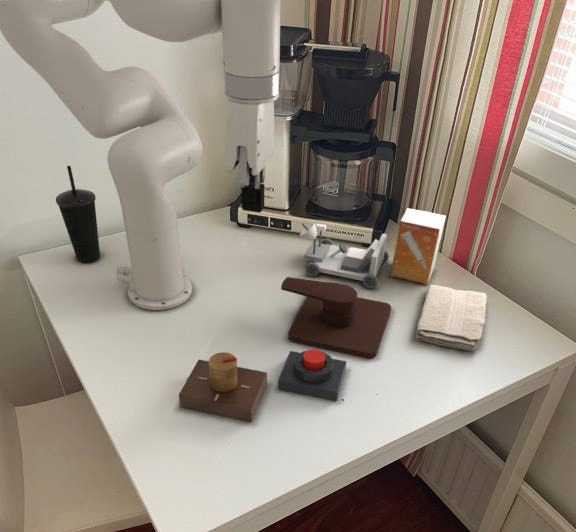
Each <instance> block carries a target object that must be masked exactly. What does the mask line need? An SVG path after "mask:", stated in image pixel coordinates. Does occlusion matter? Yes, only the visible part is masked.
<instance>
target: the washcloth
mask: <svg viewBox="0 0 576 532" xmlns="http://www.w3.org/2000/svg"><path fill="white" fill-rule="evenodd" d="M487 300H488V295H487V293H485V292H480V291H474V290H463V289H461V290H459V289H454V288H453V287H448V286H442V285H437V284H430V285H429V284H428V286H427V290H426V293H425V297H424V302H423V304H422V309H421V312H420V316H419V319H418V322H417V325H416V334H415V340H417V341H421V342H427V343H429V344H430V343H431V344H434V345H439V346H443V347H450V348H454V349H460V350H464V351H473V352H474V351H476V350H477V348H478V347H479V344H480V340H481V339H482V336H483V331H484V326H485V324H486V322H485V321H486V311H487Z"/></svg>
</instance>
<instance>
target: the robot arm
mask: <svg viewBox="0 0 576 532" xmlns="http://www.w3.org/2000/svg"><path fill="white" fill-rule="evenodd" d="M105 2H108V3H110V5H111V6H112V8H113V9H114V11H115V13H116V15H117V16H118V17H119V18H120V20H121V21H122V22H123V23H124V24H125V25H126V26H128V27H129V28H131V29H133V30H135V31H137V32H139V33H142V34H144V35H147V36H150V37H152V38H155V39H158V40H160V41H164V42H168V43H183V42H184V43H185V42H188V41H192V40H194V39H198V38H201V37H204V36H208V35H213V34H217V33H221V34H222V61H223V85H224V87H223V88H224V97H225V98H226V99H227V106H226V113H225V140H224V141H225V142H224V145H225V148H224V149H225V151H224V152H225V155H224V156H225V158H224V159H225V161H224V162H225V164H224V165H225V170H226V172H227V173H232V172H233V171H235V169H236V168H237V166H238V173H237V175H238V176H237V185H238V186H240V188H241V189H240V190H241V191H240V192H241V210H243V211H246V212H253V213H258V214H259V213H260V214H261V213H262V211H263V210H264V208H265V184H264V183H265V179H266V165H267V163H268V162H269V160H270V159H271V158H272V156H273V153H274V150H275V149H274V148H275V103H274V101H277V100H278V99H279V98H280V67H281V65H280V64H281V63H280V61H281V60H280V59H281V58H280V57H281V9H282V8H281V6H282V4H281V3H282V0H0V33H1V34H2V36H3V38H4V40H5V41H6V42H7V44H9V46H10V48H12V50H13V51H14V52H15V53H16V54H17V55H18V56H19V57H20V58H21V59H22V60H23V61H25V63H26V64H27V65H28V66H29V67H31V68H32V69H33V70H34V71H35V72H36V73H37V74H38V75H39V76H40V77H41V78H42V79H43V80H44V81H45V82H46V83H47V85H48V86H49V87H50V89H52V91H53V92H54V93H55V95H56V96H57V97H58V98H59V100H61V102H62V103H63V104H64V106H65V107H66V108H67V109H68V110H69V112H70V113H71V114H72V115H73V117H74V118H76V120H77V121H78V123H79V124H80V125H81V126H82V127H83V128H84V129H85V130H86V132H88V133H89V134H90V135H91V136H93V137H94V138H97V139H100V140H101V139H102V140H103V139H104V140H105V139H109V138H114V137H116V136H119V135H121V136H119V137H118V138H117V139H115V140H114V142H112V144H111V145H110V147H109V149H108V151H107V157H106V158H107V165H108V170H109V172H110V175H111V177H112V181H113V184H114V186H115V189H116V193H117V195H118V199H119V203H120V208H121V213H122V218H123V224H124V228H125V235H126V242H127V247H128V253H129V259H130V260H129V261H130V264H131V266H130V267H129V266H126V265H121V264H117V266H116V269H115V273H116V274H117V275H116V281H118V282H123V283H127V284H129V285H128V287H127V296H128V299H129V301H130V302H131V304H134V305H135V306H137V307H138V308H141V309H144V310H150V311H165V310H170V309H175V308H176V307H178V306H182V305H183V304H185V303H186V302H187V301H188V300H189V299H190V298H191V296H192V294H193V286H192V282H191V280H190V279H189V278H188V277H186V276H185V275H184V272H183V263H182V253H181V243H180V233H179V225H178V222H179V221H178V216H177V209H176V205H175V203H174V200H173V199H172V198H171V197H170V196H169V194H168V193H167V191H166V190H165V185H166V184H167V183H169V182H171V181H172V180H173V179H176V178H178V177H179V176H181V175H184V174H186V173H188V172H190V171H191V170H193V169H194V168H195V167H197V166H198V165H199V163H200V162H201V160H202V156H203V144H202V140H201V137H200V134H199V132H198V131H197V130H196V127H195V126H194V124H193V123H192V122H191V121H190V119H189V118H188V117H187V115H186V114H185V113H184V111H183V110H182V109H181V108H180V107H179V105H178V104H177V103H176V102H175V100H174V99H173V97H172V96H171V95H170V94H169V93H168V91H167V90H166V89H165V88H164V86H163V85H162V83H161V82H159V80H158V79H157V78H156V77H155V76H154V75H153V74H152V73H150V72H149V71H148V70H146V69H144V68H141V67H140V66H139V67H138V66H125V67H120V68H118V69H117V68H116V69H114V70H111V71H110V70H106V69H103V68H102V67H101V66H100V65H99V64H98V63H97V62H96V61H95V60H94V59H93V57H92V56H91V54H90V52H89V51H87V50H86V48H85V47H84V46H83V45H81V44H80V43H79V42H77V41H76V40H75V39H73V38H71V37H70V36H68V35H67V34H65V33H63V32H61V31H59V30H57V29H56V28H54V27H53V25H56V24H62V23H66V22H70V21H71V22H72V21H75V20H79V19H84V18H87V17H89V16H92V15H93V14H94V13H96V12H97V11H98V10H99V9H100V8H101V6H103V4H104V3H105ZM122 134H123V135H122Z"/></svg>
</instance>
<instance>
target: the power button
mask: <svg viewBox="0 0 576 532" xmlns="http://www.w3.org/2000/svg"><path fill="white" fill-rule="evenodd" d="M305 351H306V352H305V353H304V355H303V366H304V367H305V368H306V369H308V370H312V371H317V370H321V369H322V368H323V367H324V364H325V354H324V353H325V352H324V351H323V352H324V353H323V352H322V350H319V349H318V348H316V349H315V348H310V349H308V350H305Z"/></svg>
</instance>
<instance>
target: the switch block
mask: <svg viewBox="0 0 576 532" xmlns="http://www.w3.org/2000/svg"><path fill="white" fill-rule="evenodd" d="M306 351H307V350H303V351H301V352H299V351H293V350H290V351H289V353H288V355H287V358H286V360H285V363H284V365H283V368H282V370H281V372H280V375H279V378H278V381H277V389H278V390H279V391H283V392H288V393H293V394H298V395H303V396H309V397H313V398H319V399H324V400H330V401H333V402H334V401H335V402H338V399H339V398H338V397H339V395H340V392H341V388H342V385H343V381H344V377H345V374H346V369H347V360H342V359H337V358H332V356H331V355H329V354H328V353H326V352H324V351H322V350H321V351H322V352H323V353H324V354H325V364H324V367H323V368H322V369H321V370H317V371H312V370H308V369H306V368H305V367H304V366H303V355H304V353H305V352H306Z"/></svg>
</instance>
